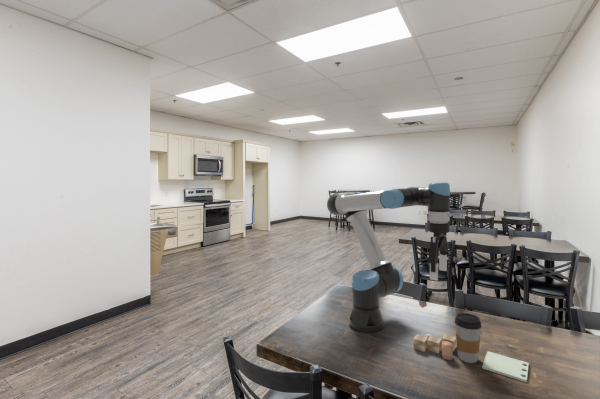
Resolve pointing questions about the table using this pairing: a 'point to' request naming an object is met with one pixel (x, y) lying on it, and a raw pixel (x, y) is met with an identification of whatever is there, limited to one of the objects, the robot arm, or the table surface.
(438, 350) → the maple cube
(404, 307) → the table surface
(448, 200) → the robot arm
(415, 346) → the maple cube
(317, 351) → the table surface
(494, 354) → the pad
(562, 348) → the table surface
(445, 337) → the maple cube
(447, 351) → the pink rounded piece
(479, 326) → the coffee cup
